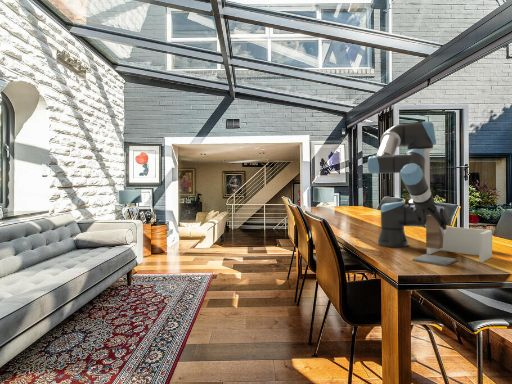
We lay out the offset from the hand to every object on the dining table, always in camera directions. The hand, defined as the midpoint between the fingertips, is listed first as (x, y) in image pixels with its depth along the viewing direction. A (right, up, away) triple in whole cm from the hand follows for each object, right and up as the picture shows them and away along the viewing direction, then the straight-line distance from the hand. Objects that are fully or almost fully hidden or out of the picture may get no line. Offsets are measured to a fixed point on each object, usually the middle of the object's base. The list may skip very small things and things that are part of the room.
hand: (437, 232), depth 141 cm
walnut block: (-2, -6, -2) cm, 7 cm away
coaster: (-2, -12, -1) cm, 12 cm away
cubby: (+13, -12, +7) cm, 19 cm away
